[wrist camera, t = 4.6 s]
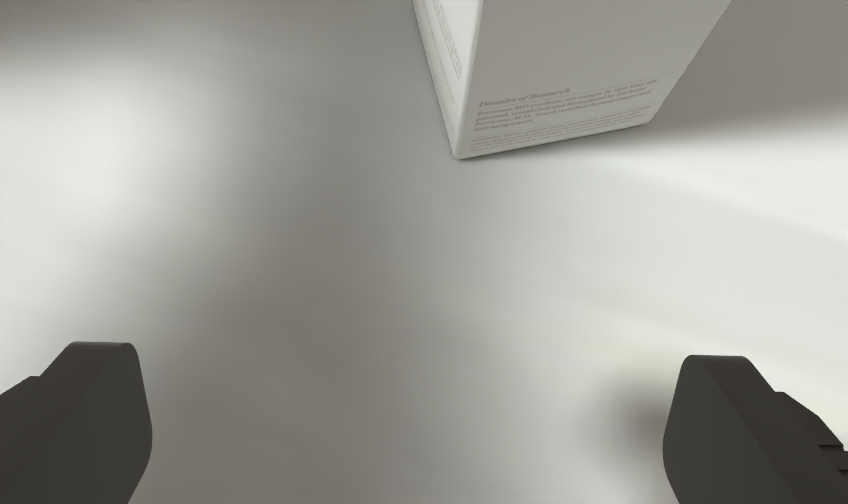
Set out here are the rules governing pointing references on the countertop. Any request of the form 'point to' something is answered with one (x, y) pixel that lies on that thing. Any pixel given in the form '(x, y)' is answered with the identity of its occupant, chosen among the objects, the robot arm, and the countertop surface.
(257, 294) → the countertop surface
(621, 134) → the countertop surface
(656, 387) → the countertop surface
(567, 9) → the supplement box
